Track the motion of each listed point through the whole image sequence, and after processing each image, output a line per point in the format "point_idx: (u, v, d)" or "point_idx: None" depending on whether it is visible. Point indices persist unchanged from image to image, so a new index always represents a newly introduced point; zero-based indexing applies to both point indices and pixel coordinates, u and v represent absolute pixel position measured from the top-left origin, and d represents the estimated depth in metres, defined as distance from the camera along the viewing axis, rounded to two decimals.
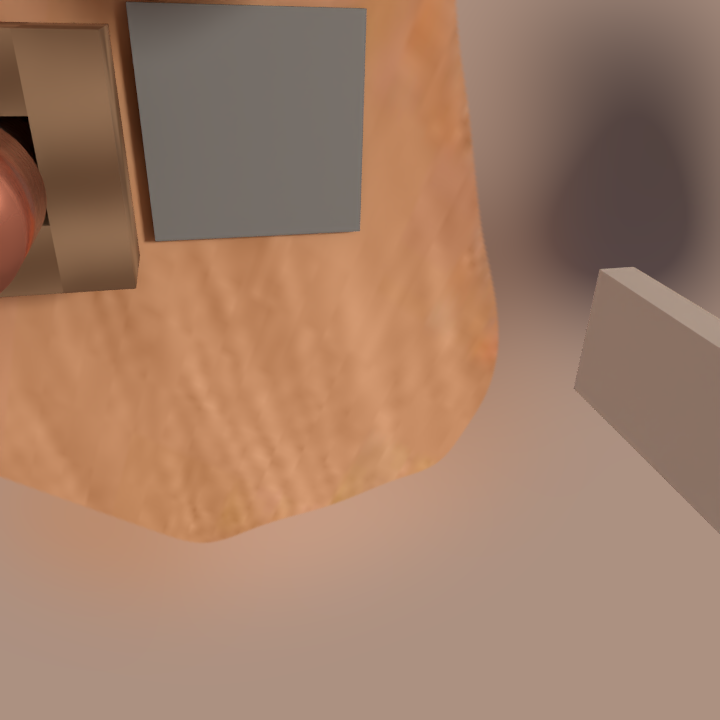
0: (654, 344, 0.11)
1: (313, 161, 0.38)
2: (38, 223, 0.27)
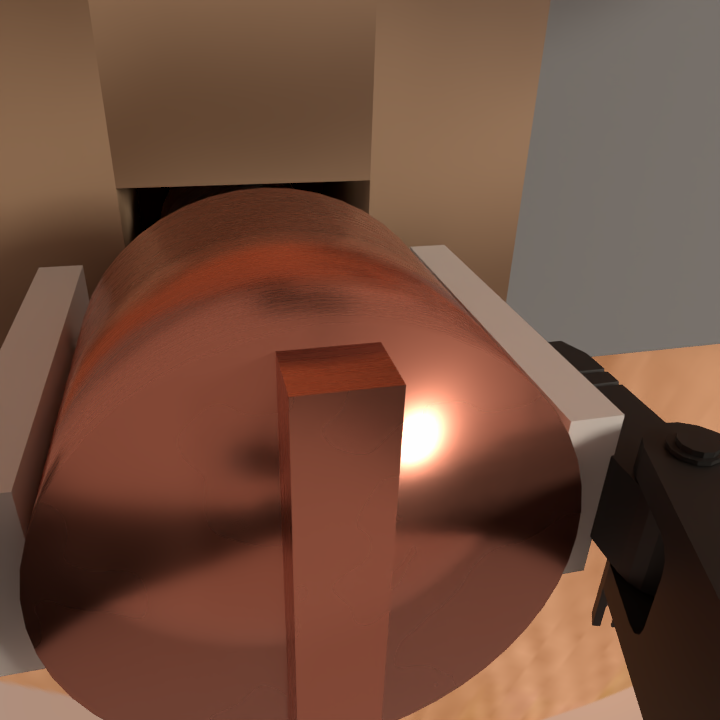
0: None
1: None
2: None
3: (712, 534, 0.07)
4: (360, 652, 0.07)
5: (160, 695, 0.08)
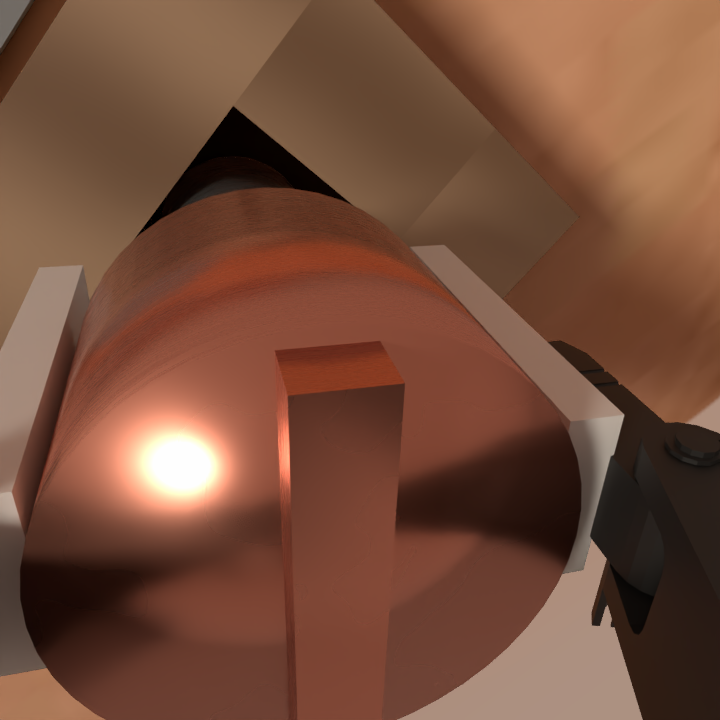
0: None
1: None
2: None
3: (712, 534, 0.07)
4: (360, 651, 0.07)
5: (160, 694, 0.08)
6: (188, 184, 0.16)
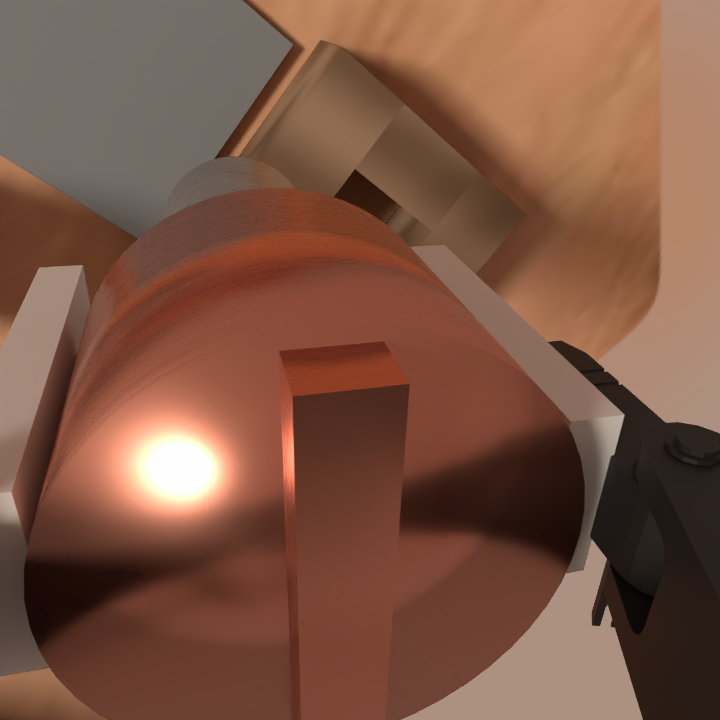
0: None
1: None
2: None
3: (712, 534, 0.07)
4: (364, 652, 0.07)
5: (164, 695, 0.08)
6: (190, 184, 0.16)
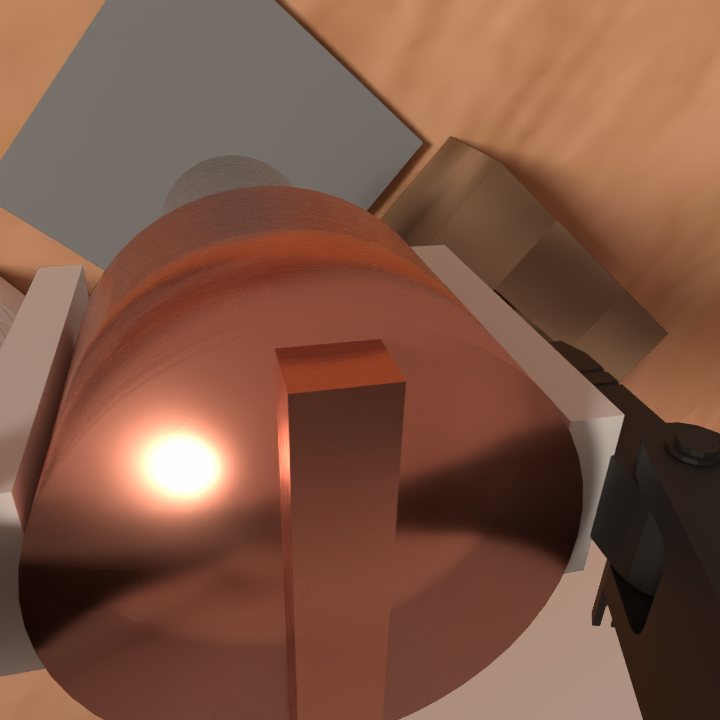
0: None
1: (170, 71, 0.24)
2: None
3: (712, 534, 0.07)
4: (360, 651, 0.07)
5: (160, 694, 0.08)
6: (188, 183, 0.16)
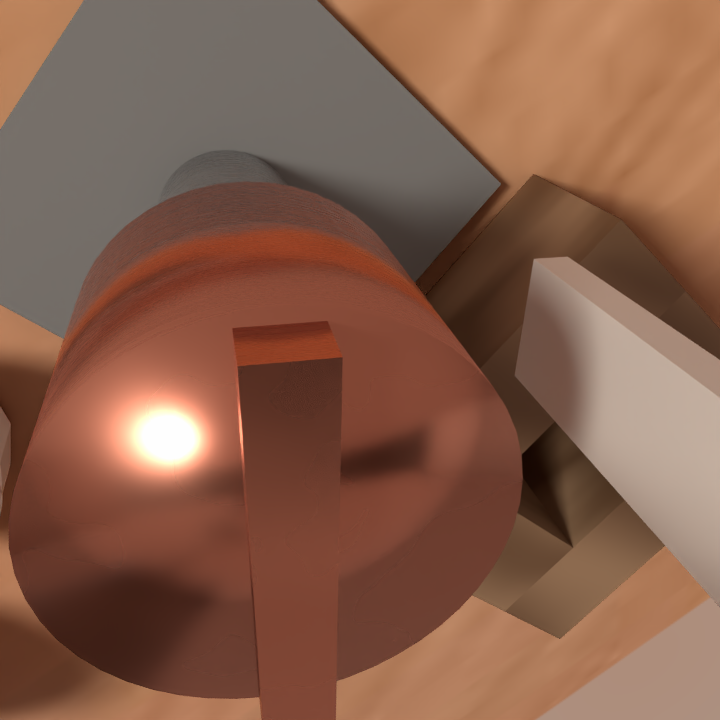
0: (579, 329, 0.12)
1: (173, 95, 0.18)
2: None
3: None
4: (314, 601, 0.08)
5: (137, 641, 0.09)
6: (182, 177, 0.17)
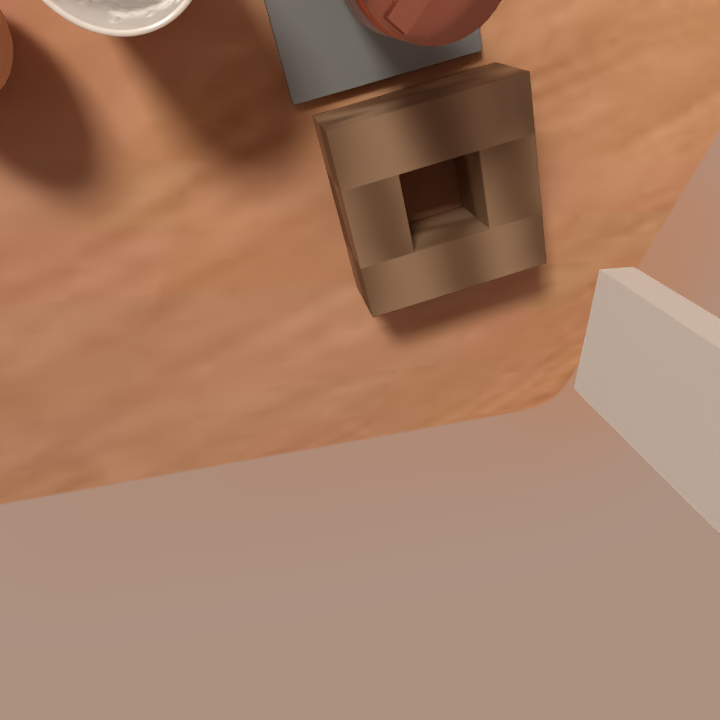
0: (655, 344, 0.11)
1: None
2: None
3: None
4: None
5: None
6: None
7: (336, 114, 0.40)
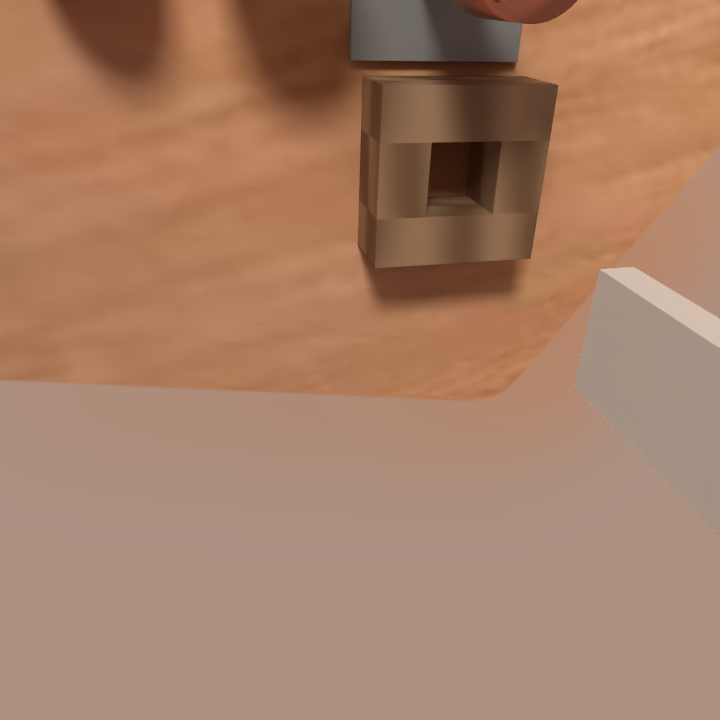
0: (654, 344, 0.11)
1: None
2: None
3: None
4: None
5: None
6: None
7: (386, 78, 0.44)
